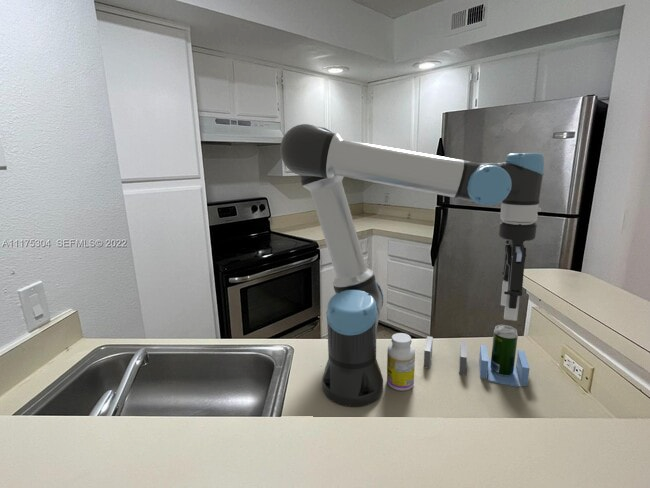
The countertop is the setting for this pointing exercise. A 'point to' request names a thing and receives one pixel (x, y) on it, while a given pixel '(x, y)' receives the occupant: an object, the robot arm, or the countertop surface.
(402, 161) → the robot arm
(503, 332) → the beer can
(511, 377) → the blue bezel pad
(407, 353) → the supplement bottle
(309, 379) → the countertop surface
